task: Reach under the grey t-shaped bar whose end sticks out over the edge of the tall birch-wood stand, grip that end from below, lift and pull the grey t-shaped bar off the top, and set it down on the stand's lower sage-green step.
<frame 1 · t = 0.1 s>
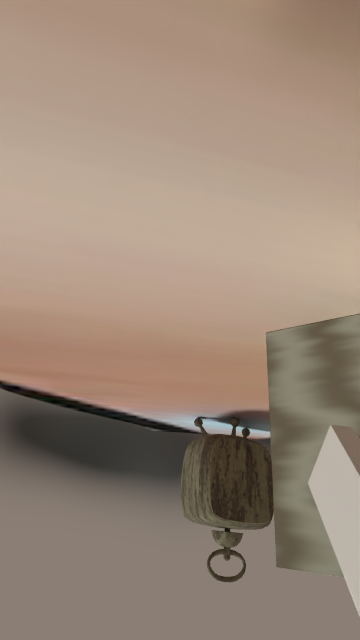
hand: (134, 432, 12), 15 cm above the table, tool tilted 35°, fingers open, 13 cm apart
tabletop clock: (229, 418, 66), on the table
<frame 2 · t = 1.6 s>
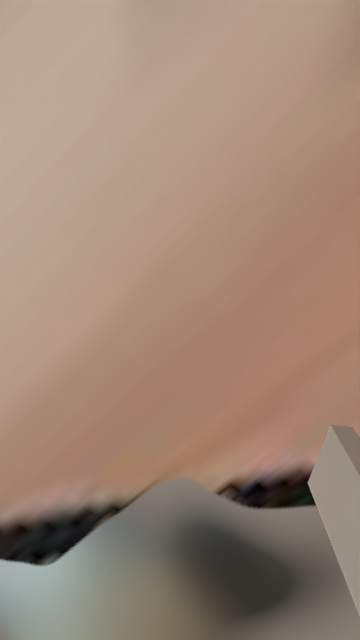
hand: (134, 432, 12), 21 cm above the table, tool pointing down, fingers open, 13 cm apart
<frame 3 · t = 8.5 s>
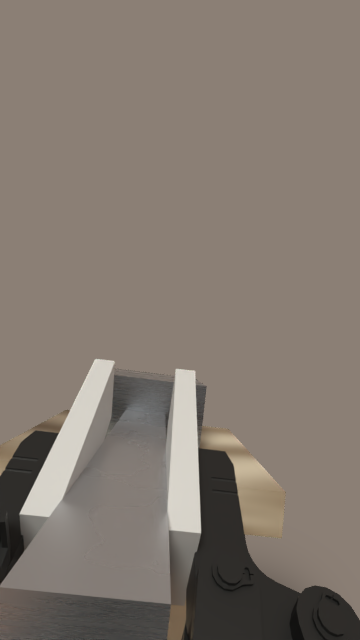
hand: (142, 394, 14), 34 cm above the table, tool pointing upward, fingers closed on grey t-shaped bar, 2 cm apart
grey t-shaped bar: (143, 438, 22), point 30 cm above the table, touching gripper, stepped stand
when the fingers open (25 cm above the table, at t = 17.6 s): grey t-shaped bar drops 1 cm, resting on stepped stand.
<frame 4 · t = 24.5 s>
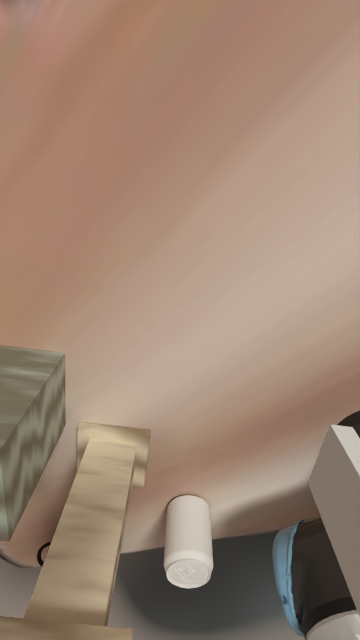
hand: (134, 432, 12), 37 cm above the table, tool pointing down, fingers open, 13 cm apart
beverage can: (188, 506, 66), on the table
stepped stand: (113, 452, 60), on the table
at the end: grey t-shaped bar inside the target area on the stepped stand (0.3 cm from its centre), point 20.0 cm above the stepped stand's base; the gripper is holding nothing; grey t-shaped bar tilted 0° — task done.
